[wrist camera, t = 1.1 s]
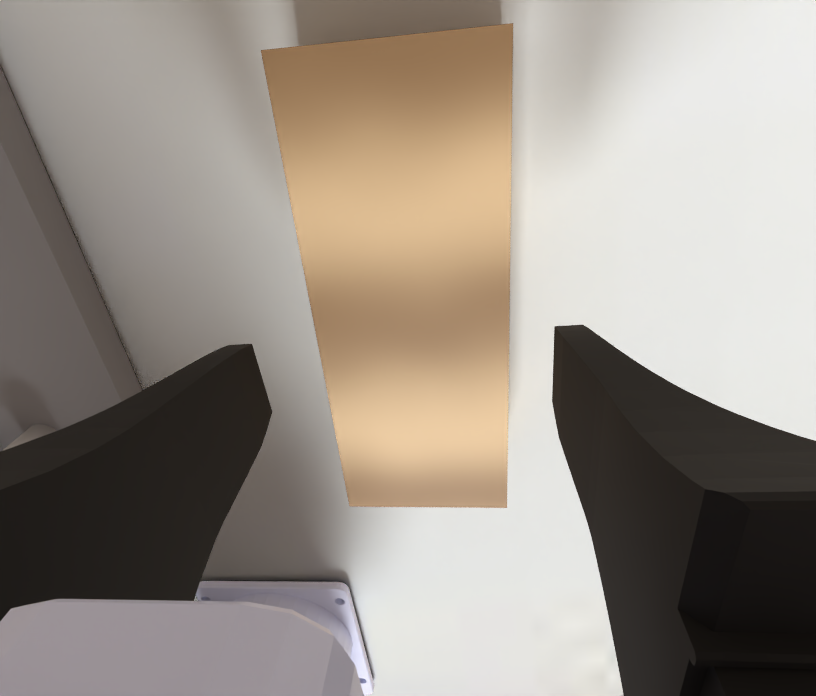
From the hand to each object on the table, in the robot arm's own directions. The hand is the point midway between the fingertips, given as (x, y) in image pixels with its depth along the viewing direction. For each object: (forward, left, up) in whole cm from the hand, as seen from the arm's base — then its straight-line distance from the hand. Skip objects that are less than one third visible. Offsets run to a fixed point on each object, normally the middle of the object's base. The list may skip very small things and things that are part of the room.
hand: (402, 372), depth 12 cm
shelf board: (0, 0, -6) cm, 6 cm away
